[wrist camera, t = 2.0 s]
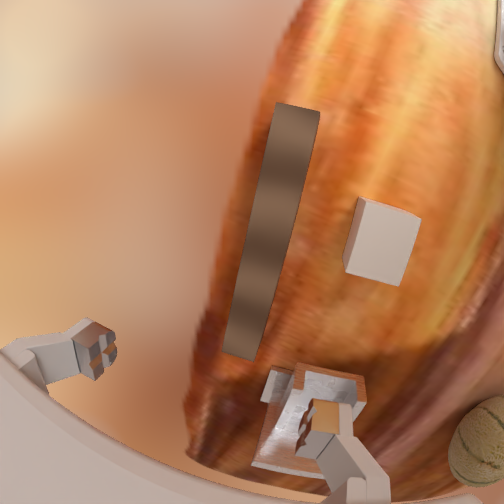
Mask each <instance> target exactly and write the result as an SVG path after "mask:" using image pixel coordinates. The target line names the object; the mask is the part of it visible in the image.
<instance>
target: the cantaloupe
mask: <svg viewBox="0 0 504 504" xmlns="http://www.w3.org/2000/svg"><path fill="white" fill-rule="evenodd" d="M448 461H449V466H450V469H451V472H452V473H453V475H454V477H455V478H456V479H457V480H459V481H460V482H461V483H464V484H465V485H468V486H472V487H485V486H488V485H491V484H494V483H496V482H498V481H500V480H502V479H503V478H504V395H498V396H494V397H492V398H489V399H487V400H485V401H483V402H481V403H480V404H478V405H477V406H476V407H475V408H474V409H472V410H471V411H470V412H469V413H468V414H466V415H465V416H464V418H463V419H462V420H461V422H460V423H459V425H458V426H457V428H456V430H455V432H454V434H453V437H452V440H451V442H450V445H449V452H448Z"/></svg>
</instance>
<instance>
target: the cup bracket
mask: <svg viewBox="0 0 504 504" xmlns="http://www.w3.org/2000/svg"><path fill="white" fill-rule="evenodd" d="M312 398H316V399H321V400H326V401H332V402H337V403H345V404H350V405H351V406H352V421H353V422H354V420H355V419H356V418H357V416H358V415H359V413H360V412H361V410H362V409H363V408H364V406H365V405H366V403H367V399H366V390H365V382H364V376H360V375H355V374H350V373H345V372H340V371H335V370H330V369H326V368H321V367H317V366H312V365H308V364H304V363H300V362H297V363H296V366H295V369H294V371H291V370H287V369H283V368H280V367H276V366H272V367H271V370H270V373H269V376H268V379H267V382H266V385H265V388H264V391H263V394H262V396H261V400H260V401H263V402H267V403H269V404H268V407H267V411H266V415H265V419H264V422H263V426H262V429H261V433H260V436H259V440H258V443H257V447H256V450H255V454H254V457H253V460H252V464H251V466H255V467H259V468H264V469H268V470H272V471H277V472H282V473H287V474H293V475H299V476H305V477H312V478H319V479H325V478H324V476H323V474H322V472H321V470H320V468H319V466H318V464H317V462H316V460H315V459H310V458H304V457H299V456H295V449H296V442H297V440H298V439H299V437H300V436H299V434H298V429H299V424H300V421H301V418H302V416H303V414H304V412H305V411H307V410H308V404H309V402H310V400H311V399H312Z"/></svg>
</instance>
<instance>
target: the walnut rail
mask: <svg viewBox="0 0 504 504" xmlns="http://www.w3.org/2000/svg"><path fill="white" fill-rule="evenodd" d="M319 120H320V112H319V111H315V110H310V109H306V108H302V107H297V106H293V105H288V104H283V103H278V102H276V105H275V109H274V114H273V118H272V122H271V127H270V131H269V135H268V140H267V144H266V149H265V153H264V157H263V162H262V166H261V171H260V175H259V180H258V184H257V189H256V193H255V198H254V202H253V207H252V211H251V216H250V220H249V225H248V230H247V234H246V239H245V243H244V248H243V253H242V257H241V262H240V266H239V271H238V276H237V280H236V285H235V290H234V294H233V299H232V304H231V309H230V313H229V318H228V323H227V328H226V332H225V337H224V342H223V347H222V352H224V353H227V354H230V355H233V356H236V357H240V358H243V359H246V360H249V361H252V362H254V360H255V357H256V354H257V351H258V348H259V346H260V343H261V340H262V336H263V333H264V330H265V326H266V323H267V320H268V316H269V313H270V309H271V306H272V303H273V299H274V296H275V292H276V289H277V285H278V282H279V278H280V274H281V271H282V267H283V264H284V260H285V256H286V253H287V249H288V245H289V242H290V238H291V234H292V230H293V227H294V223H295V219H296V215H297V211H298V207H299V203H300V199H301V196H302V192H303V188H304V184H305V179H306V175H307V171H308V167H309V163H310V159H311V155H312V150H313V146H314V142H315V138H316V133H317V129H318V125H319Z"/></svg>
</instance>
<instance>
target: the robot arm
mask: <svg viewBox="0 0 504 504" xmlns="http://www.w3.org/2000/svg"><path fill="white" fill-rule="evenodd" d="M494 58H495V61H496V63H497V65H498V66H499V68H500V69H501V71H502V72H503V73H504V0H498V16H497V32H496V42H495V51H494ZM115 339H116V337H115V333H114V332H113V331H112V330H110V329H108V328H106V327H104V326H102V325H101V324H99V323H97V322H94V321H93V320H91V319H89V318H83V319H82V320H81V321H79V322H78V323H77V324H75V325H74V326H72V327H71V328H69V329H68V330H67V331H65V332H64V333H60V332H59V333H52V334H46V335H38V336H31V337H24V338H17V339H15V340H14V341H12V342H11V343H9V344H8V345H7V346H5V347H4V348H3V349H1V350H0V504H391V495H390V481H389V477H388V475H387V474H386V473H385V472H384V470H383V469H382V468H381V467H380V466H379V464H378V463H377V462H376V461H375V459H374V458H373V457H372V456H371V454H370V453H369V452H368V451H367V449H366V448H365V447H364V446H363V444H362V443H361V442H360V441H359V439H358V438H357V437H353V421H352V406H351V405H350V404H345V403H337V402H332V401H326V400H321V399H316V398H312V399H311V400H310V402H309V404H308V410H307V411H305V412H304V414H303V416H302V418H301V421H300V424H299V429H298V434H299V436H300V437H299V439H298V440H297V442H296V449H295V456H299V457H304V458H310V459H315V460H316V462H317V464H318V466H319V468H320V470H321V472H322V474H323V476H324V478H325V480H326V482H327V484H328V486H329V488H330V490H331V492H332V494H331V495H329V496H328V497H327V498H326V499H325V500H323V501H322V502H321V503H311V502H302V501H295V500H288V499H282V498H277V497H271V496H266V495H261V494H257V493H252V492H248V491H244V490H240V489H236V488H233V487H229V486H225V485H222V484H219V483H216V482H212V481H209V480H206V479H203V478H200V477H197V476H195V475H192V474H189V473H186V472H184V471H181V470H179V469H176V468H174V467H171V466H169V465H167V464H164V463H162V462H159V461H157V460H155V459H153V458H151V457H149V456H146V455H144V454H142V453H140V452H138V451H136V450H134V449H132V448H130V447H128V446H126V445H125V444H123V443H120V442H119V441H117V440H115V439H113V438H112V437H110V436H108V435H107V434H105V433H103V432H101V431H100V430H98V429H97V428H95V427H93V426H92V425H90V424H88V423H87V422H85V421H84V420H82V419H81V418H79V417H78V416H76V415H75V414H73V413H72V412H70V411H69V410H68V409H66V408H65V407H64V406H62V405H61V404H60V403H58V402H57V401H56V400H54V399H53V398H51V397H50V396H49V392H48V390H47V387H46V385H47V384H50V383H53V382H56V381H59V380H62V379H65V378H68V377H71V376H74V375H77V374H80V373H82V374H84V375H85V376H87V377H89V378H91V379H92V380H94V381H96V380H97V379H98V377H100V376H101V375H102V374H103V372H104V368H105V367H109V366H111V365H112V363H113V362H114V360H115V358H116V356H117V347H116V345H115V344H114V341H115ZM405 504H483V503H482V502H481V501H480V500H479V499H478V498H477V497H475V496H474V495H473V494H470V493H466V494H460V495H456V496H451V497H446V498H441V499H435V500H428V501H422V502H413V503H405Z"/></svg>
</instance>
